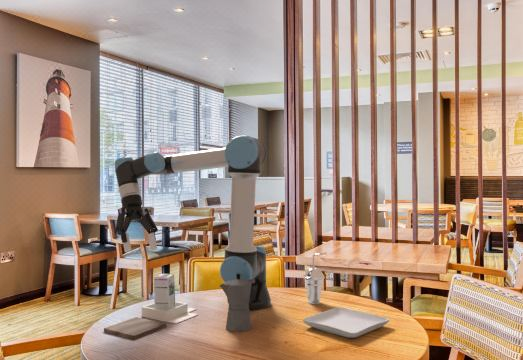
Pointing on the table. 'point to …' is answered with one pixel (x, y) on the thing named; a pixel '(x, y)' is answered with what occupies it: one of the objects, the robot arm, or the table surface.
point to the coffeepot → (240, 302)
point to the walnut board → (135, 328)
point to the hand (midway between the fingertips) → (141, 250)
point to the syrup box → (164, 292)
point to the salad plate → (345, 322)
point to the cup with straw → (314, 283)
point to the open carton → (169, 313)
